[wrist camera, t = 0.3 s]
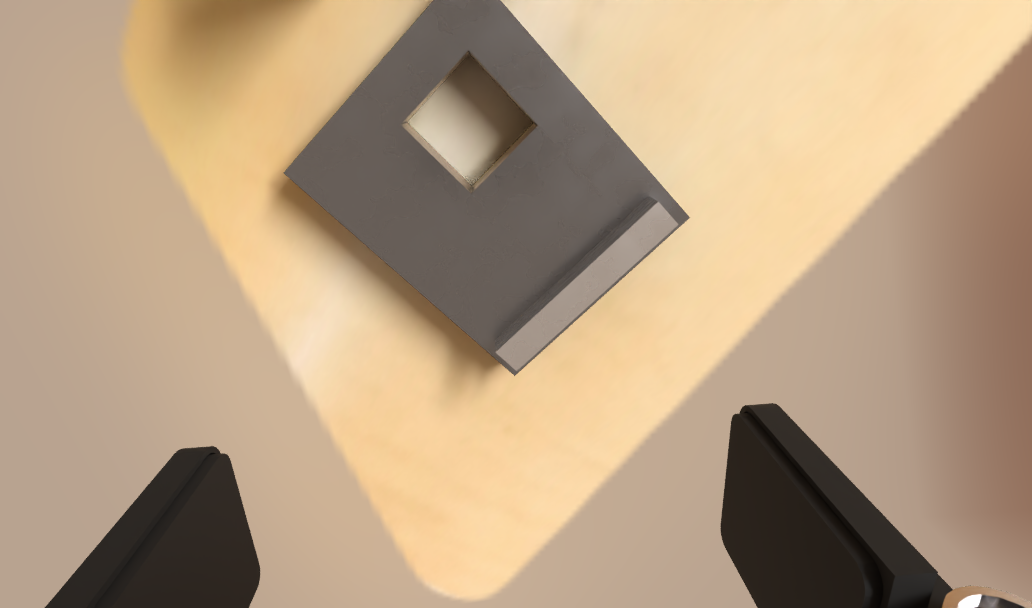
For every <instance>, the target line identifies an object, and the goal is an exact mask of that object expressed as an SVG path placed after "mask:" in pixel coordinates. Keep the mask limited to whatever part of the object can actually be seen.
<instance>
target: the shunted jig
mask: <svg viewBox="0 0 1032 608" xmlns="http://www.w3.org/2000/svg"><path fill="white" fill-rule="evenodd" d="M469 53H470V55H471V56H472V57H473V58H474V59H475V60H476V61H477V62H478V63H479V64H480V65H481V66H482V68H483V69H484V70H485V71H486V72H487V73H488V74H489V75H490V76H491V77H492V78H493V79H494V80H495V82H496V83H497V84H498V85H499V86H500V87H501V88H502V89H503V90H504V91H505V92H506V93H507V95H508V96H509V97H510V98H511V99H512V100H513V101H514V102H515V103H516V104H517V105H518V106H519V108H520V109H521V110H522V111H523V112H524V113H525V114H526V115H527V116H528V117H529V118H530V119H531V121H532V122H533V124H532V125H531V126H530V127H529V128H528V129H527V130H526V131H525V132H524V133H523V134H522V135H521V136H520V137H519V138H518V139H517V140H516V141H515V142H514V143H513V145H512V146H511V147H510V148H509V149H508V150H507V151H506V152H505V153H504V154H503V155H502V156H501V157H500V158H499V159H498V160H497V161H496V162H495V163H494V164H493V165H492V166H491V167H490V168H489V169H488V170H487V171H486V172H485V173H484V174H483V175H482V176H481V177H480V178H479V179H478V180H477V181H476V182H475V184H474V185H473V186H471V185H470V184H469V183H468V182H467V181H466V180H465V179H464V178H463V177H462V176H461V175H460V174H459V173H458V172H457V171H456V170H455V169H454V168H453V167H452V166H451V165H450V164H449V163H448V162H447V161H446V160H445V159H444V158H443V157H442V156H441V155H440V154H439V153H438V152H437V151H436V150H435V149H434V148H433V147H432V146H431V145H430V144H429V143H428V142H427V141H426V140H425V139H424V138H423V137H422V136H421V135H420V134H419V133H418V132H417V131H416V130H414V129H413V128H412V127H411V126H410V125H409V124H408V123H407V121H408V120H409V119H410V118H411V117H412V116H413V115H414V114H415V113H416V112H417V110H418V109H419V108H420V107H421V106H422V105H423V104H424V103H425V102H426V101H427V99H428V98H429V97H430V96H431V95H432V94H433V93H434V92H435V91H436V90H437V88H438V87H439V86H440V85H441V84H442V83H443V82H444V81H445V80H446V79H447V77H448V76H449V75H450V74H451V73H452V72H453V71H454V70H455V69H456V68H457V66H458V65H459V64H460V63H461V62H462V61H463V60H464V59H465V58H466V57H467V55H468V54H469ZM284 174H285V175H286V176H287V177H289V178H290V179H291V180H292V181H293V182H294V183H295V184H297V185H298V186H299V187H300V188H301V189H302V190H303V191H305V192H306V193H307V194H308V195H309V196H310V197H311V198H313V199H314V200H315V201H316V202H317V203H318V204H319V205H321V206H322V207H323V208H324V209H325V210H326V211H327V212H328V213H330V214H331V215H332V216H333V217H334V218H335V219H336V220H338V221H339V222H340V223H341V224H342V225H343V226H344V227H346V228H347V229H348V230H349V231H350V232H351V233H352V234H354V235H355V236H356V237H357V238H358V239H359V240H360V241H362V242H363V243H364V244H365V245H366V246H367V247H368V248H370V249H371V250H372V251H373V252H374V253H375V254H376V255H378V256H379V257H380V258H381V259H382V260H383V261H384V262H386V263H387V264H388V265H389V266H390V267H391V268H392V269H394V270H395V271H396V272H397V273H398V274H399V275H400V276H401V277H403V278H404V279H405V280H406V281H407V282H408V283H409V284H411V285H412V286H413V287H414V288H415V289H416V290H417V291H419V292H420V293H421V294H422V295H423V296H424V297H425V298H427V299H428V300H429V301H430V302H431V303H432V304H433V305H435V306H436V307H437V308H438V309H439V310H440V311H441V312H443V313H444V314H445V315H446V316H447V317H448V318H449V319H451V320H452V321H453V322H454V323H455V324H456V325H457V326H459V327H460V328H461V329H462V330H463V331H464V332H465V333H466V334H468V335H469V336H470V337H471V338H472V339H473V340H474V341H476V342H477V343H478V344H479V345H480V346H481V347H482V348H484V349H485V350H486V351H487V352H488V353H489V354H490V355H492V356H493V357H494V358H495V359H496V360H497V361H498V362H500V363H501V364H502V365H503V366H504V367H505V368H506V369H508V370H509V371H510V372H511V373H512V374H513V375H514V376H515V375H516V374H517V373H518V372H519V371H521V370H522V369H523V368H524V367H525V366H526V365H527V364H528V363H529V362H531V361H532V360H533V359H534V358H535V357H536V356H537V355H538V354H539V353H541V352H542V351H543V350H544V349H545V348H546V347H547V346H548V345H549V344H550V343H552V342H553V341H554V340H555V339H556V338H557V337H558V336H559V335H560V334H562V333H563V332H564V331H565V330H566V329H567V328H568V327H569V326H570V325H571V324H573V323H574V322H575V321H576V320H577V319H578V318H579V317H580V316H581V315H583V314H584V313H585V312H586V311H587V310H588V309H589V308H590V307H591V306H593V305H594V304H595V303H596V302H597V301H598V300H599V299H600V298H601V297H602V296H604V295H605V294H606V293H607V292H608V291H609V290H610V289H611V288H612V287H614V286H615V285H616V284H617V283H618V282H619V281H620V280H621V279H622V278H623V277H625V276H626V275H627V274H628V273H629V272H630V271H631V270H632V269H633V268H635V267H636V266H637V265H638V264H639V263H640V262H641V261H642V260H643V259H645V258H646V257H647V256H648V255H649V254H650V253H651V252H652V251H653V250H654V249H656V248H657V247H658V246H659V245H660V244H661V243H662V242H663V241H664V240H666V239H667V238H668V237H669V236H670V235H671V234H672V233H673V232H674V231H675V230H677V229H678V228H679V227H680V226H681V225H682V224H683V223H684V222H685V221H687V220H688V219H689V218H690V217H689V216H688V215H687V214H686V213H685V212H684V210H683V209H682V208H681V207H680V206H679V205H678V203H677V202H676V201H675V200H674V199H673V198H672V197H671V195H670V194H669V193H668V192H667V191H666V190H665V189H664V187H663V186H662V185H661V184H660V183H659V182H658V181H657V179H656V178H655V177H654V176H653V175H652V174H651V173H650V171H649V170H648V169H647V168H646V167H645V166H644V165H643V163H642V162H641V161H640V160H639V159H638V158H637V156H636V155H635V154H634V153H633V152H632V151H631V150H630V148H629V147H628V146H627V145H626V144H625V143H624V142H623V140H622V139H621V138H620V137H619V136H618V135H617V134H616V132H615V131H614V130H613V129H612V128H611V127H610V126H609V124H608V123H607V122H606V121H605V120H604V119H603V118H602V116H601V115H600V114H599V113H598V112H597V111H596V110H595V108H594V107H593V106H592V105H591V104H590V103H589V101H588V100H587V99H586V98H585V97H584V96H583V95H582V93H581V92H580V91H579V90H578V89H577V88H576V87H575V85H574V84H573V83H572V82H571V81H570V80H569V79H568V77H567V76H566V75H565V74H564V73H563V72H562V71H561V69H560V68H559V67H558V66H557V65H556V64H555V63H554V61H553V60H552V59H551V58H550V57H549V56H548V54H547V53H546V52H545V51H544V50H543V49H542V48H541V46H540V45H539V44H538V43H537V42H536V41H535V40H534V38H533V37H532V36H531V35H530V34H529V33H528V32H527V30H526V29H525V28H524V27H523V26H522V25H521V24H520V22H519V21H518V20H517V19H516V18H515V17H514V16H513V14H512V13H511V12H510V11H509V10H508V9H507V7H506V6H505V5H504V4H503V3H502V2H501V1H500V0H433V2H432V3H431V4H430V5H429V6H428V7H427V8H426V10H425V11H424V12H423V13H422V14H421V15H420V17H419V18H418V19H417V20H416V21H415V22H414V23H413V25H412V26H411V27H410V28H409V29H408V30H407V31H406V33H405V34H404V35H403V36H402V37H401V38H400V40H399V41H398V42H397V43H396V44H395V45H394V46H393V48H392V49H391V50H390V51H389V52H388V53H387V54H386V56H385V57H384V58H383V59H382V60H381V61H380V63H379V64H378V65H377V66H376V67H375V68H374V69H373V71H372V72H371V73H370V74H369V75H368V76H367V77H366V79H365V80H364V81H363V82H362V83H361V84H360V85H359V87H358V88H357V89H356V90H355V91H354V92H353V94H352V95H351V96H350V97H349V98H348V99H347V100H346V102H345V103H344V104H343V105H342V106H341V107H340V108H339V110H338V111H337V112H336V113H335V114H334V115H333V117H332V118H331V119H330V120H329V121H328V122H327V123H326V125H325V126H324V127H323V128H322V129H321V130H320V131H319V133H318V134H317V135H316V136H315V137H314V138H313V140H312V141H311V142H310V143H309V144H308V145H307V146H306V148H305V149H304V150H303V151H302V152H301V153H300V154H299V156H298V157H297V158H296V159H295V160H294V161H293V163H292V164H291V165H290V166H289V167H288V168H287V169H286V171H285V172H284Z"/></svg>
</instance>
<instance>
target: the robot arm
mask: <svg viewBox="0 0 1032 608" xmlns="http://www.w3.org/2000/svg"><path fill="white" fill-rule="evenodd" d="M721 536H722V540H723V543H724V546H725V548H726V550H727V552H728V554H729V556H730V557H731V559H732V561H733V563H734V565H735V567H736V568H737V570H738V572H739V574H740V576H741V578H742V580H743V581H744V583H745V585H746V587H747V589H748V590H749V592H750V594H751V596H752V598H753V600H754V602H755V604H756V606H757V607H758V608H1032V603H1031V602H1029V601H1027V600H1024V599H1022V598H1020V597H1018V596H1015V595H1013V594H1011V593H1008V592H1004V591H1001V590H997V589H994V588H990V587H981V586H965V587H959V588H955V589H954V590H953V589H952V588H951V587H950V586H949V585H948V584H947V583H946V582H945V581H944V580H943V579H942V578H941V577H940V576H939V575H938V574H937V573H938V572H937V571H936V570H935V569H934V568H933V567H932V566H931V565H930V564H929V563H928V561H927V560H926V559H925V558H924V557H923V556H922V555H921V554H920V553H919V552H918V551H917V550H916V549H915V548H914V547H913V546H912V545H911V544H910V543H909V542H908V541H907V539H906V538H905V537H904V536H903V535H902V534H901V533H900V532H899V531H898V530H897V529H896V528H895V527H894V526H893V525H892V524H891V523H890V522H889V521H888V520H887V519H886V517H885V516H883V514H882V513H881V512H880V511H879V510H878V509H877V508H876V507H875V506H874V505H873V504H872V503H871V502H870V501H869V500H868V499H867V498H866V497H865V496H864V494H863V493H862V492H861V491H860V490H859V489H858V488H857V487H856V486H855V485H854V484H853V483H852V482H851V481H850V480H849V479H848V478H847V477H846V476H845V475H844V474H843V473H842V471H841V470H840V469H839V468H837V466H836V465H835V464H834V463H833V462H832V461H831V460H830V459H829V458H828V457H827V456H826V455H825V454H824V453H823V452H822V451H821V450H820V448H819V447H818V446H817V445H816V444H815V443H814V442H813V441H812V440H811V439H810V438H809V437H808V436H807V435H806V434H805V433H804V432H803V431H802V430H801V429H800V427H798V426H797V424H796V423H795V422H794V421H793V420H792V419H791V418H790V417H789V416H788V415H787V414H786V413H785V412H784V411H783V410H782V409H781V408H780V407H779V406H778V405H777V404H773V403H772V404H759V405H745V406H744V407H742V409H741V411H740V414H735V415H733V417H732V421H731V430H730V439H729V449H728V459H727V469H726V479H725V489H724V498H723V508H722V518H721ZM259 580H260V566H259V562H258V558H257V554H256V551H255V547H254V544H253V540H252V536H251V533H250V529H249V526H248V522H247V518H246V515H245V511H244V508H243V504H242V500H241V497H240V493H239V489H238V486H237V482H236V479H235V475H234V471H233V468H232V464H231V461H230V458H229V456H228V455H227V454H221V453H220V451H219V450H218V449H217V448H216V447H214V446H211V447H198V448H185V449H180V450H178V451H177V452H176V453H175V454H174V455H173V456H172V458H171V459H170V460H169V461H168V462H167V463H166V465H165V466H164V467H163V468H162V469H161V471H160V472H159V473H158V474H157V475H156V477H155V478H154V479H153V480H152V481H151V483H150V484H149V485H148V486H147V487H146V488H145V490H144V491H143V492H142V493H141V494H140V496H139V497H138V498H137V499H136V500H135V501H134V503H133V504H132V505H131V506H130V507H129V509H128V510H127V511H126V512H125V513H124V515H123V516H122V517H121V518H120V519H119V521H118V522H117V523H116V524H115V525H114V527H113V528H112V529H111V530H110V531H109V532H108V533H107V535H106V536H105V537H104V538H103V540H102V541H101V542H100V543H99V544H98V545H97V547H96V548H95V549H94V550H93V551H92V552H91V554H90V555H89V556H88V557H87V558H86V560H85V561H84V562H83V563H82V564H81V566H80V567H79V568H78V569H77V570H76V571H75V573H74V574H73V575H72V576H71V577H70V579H69V580H68V581H67V582H66V583H65V585H64V586H63V587H62V588H61V589H60V591H59V592H58V593H57V594H56V595H55V597H54V598H53V599H52V600H51V601H50V602H49V604H48V605H47V606H46V607H45V608H249V606H250V603H251V601H252V599H253V597H254V595H255V592H256V590H257V587H258V585H259Z"/></svg>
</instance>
